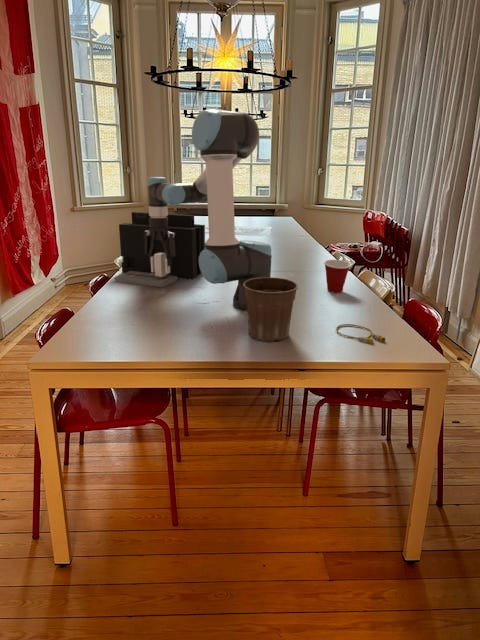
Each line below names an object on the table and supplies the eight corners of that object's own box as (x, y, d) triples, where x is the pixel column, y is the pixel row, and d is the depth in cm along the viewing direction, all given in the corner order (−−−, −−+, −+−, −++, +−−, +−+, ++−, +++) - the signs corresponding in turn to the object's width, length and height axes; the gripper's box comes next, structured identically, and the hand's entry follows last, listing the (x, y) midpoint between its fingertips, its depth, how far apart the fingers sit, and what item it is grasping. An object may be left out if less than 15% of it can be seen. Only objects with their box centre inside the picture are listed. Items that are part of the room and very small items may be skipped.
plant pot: (290, 348, 132) (293, 293, 127) (235, 341, 136) (236, 288, 131) (298, 328, 147) (302, 279, 142) (249, 323, 151) (251, 275, 146)
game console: (122, 272, 212) (118, 213, 203) (153, 259, 239) (150, 206, 230) (193, 280, 202) (192, 217, 193) (216, 265, 229) (216, 210, 220)
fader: (160, 278, 193) (159, 255, 190) (154, 278, 194) (153, 254, 191) (167, 275, 198) (166, 252, 195) (161, 275, 199) (160, 252, 195)
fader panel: (163, 287, 190) (162, 282, 189) (115, 281, 197) (114, 276, 196) (176, 280, 200) (176, 275, 199) (130, 275, 207) (130, 270, 207)
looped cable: (348, 346, 135) (348, 340, 135) (330, 327, 150) (330, 322, 149) (387, 345, 137) (388, 338, 136) (365, 326, 152) (366, 320, 151)
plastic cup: (328, 296, 182) (331, 266, 178) (317, 288, 192) (319, 260, 188) (353, 294, 185) (356, 264, 181) (340, 287, 195) (343, 259, 191)
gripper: (183, 217, 188) (185, 272, 196) (142, 214, 194) (145, 268, 202) (175, 219, 181) (176, 276, 189) (133, 216, 187) (136, 272, 195)
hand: (160, 272), depth 195 cm, fingers open, 6 cm apart
